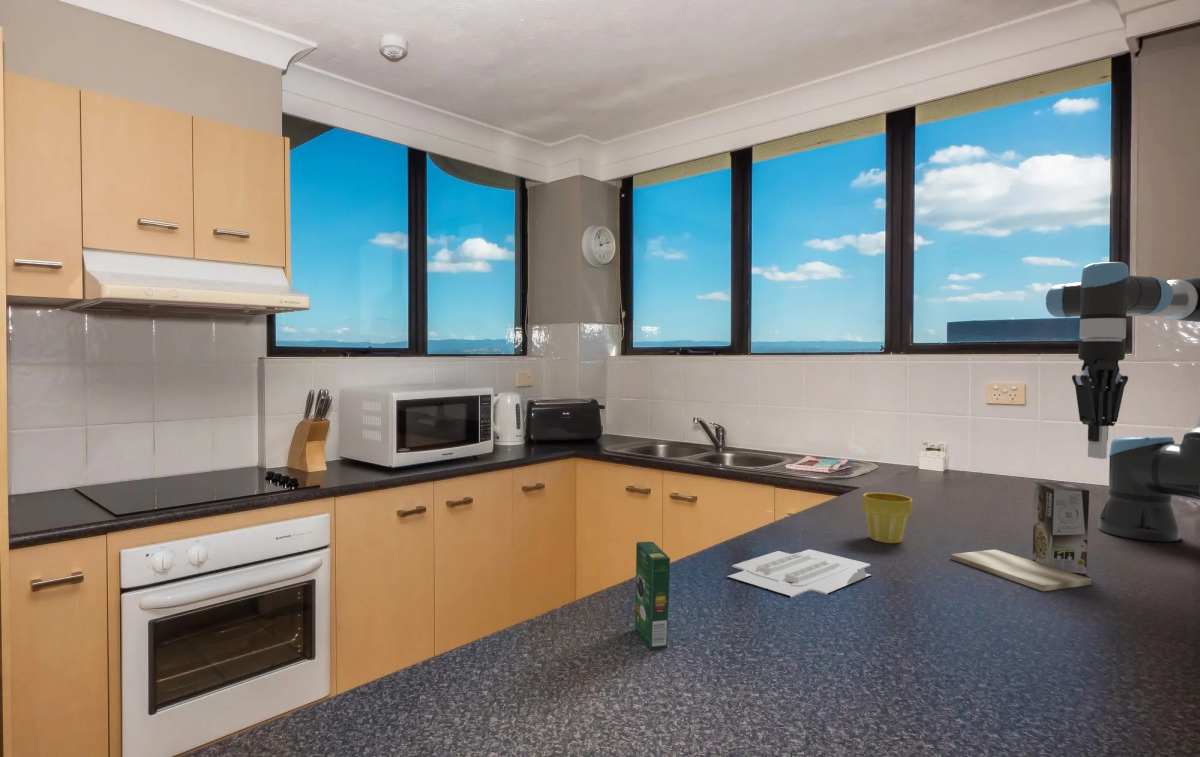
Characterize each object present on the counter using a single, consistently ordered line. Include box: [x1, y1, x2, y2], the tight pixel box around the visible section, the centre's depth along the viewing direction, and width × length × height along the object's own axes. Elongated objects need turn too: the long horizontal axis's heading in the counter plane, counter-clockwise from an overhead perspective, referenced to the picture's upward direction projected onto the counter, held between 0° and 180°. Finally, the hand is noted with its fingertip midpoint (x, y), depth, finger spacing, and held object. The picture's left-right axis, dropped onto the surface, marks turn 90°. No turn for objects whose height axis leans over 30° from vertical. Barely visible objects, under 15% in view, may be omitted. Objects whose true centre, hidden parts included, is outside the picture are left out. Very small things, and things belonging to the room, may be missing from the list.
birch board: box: [950, 549, 1093, 592], centre depth 131 cm, size 12×20×1 cm, turn 19°
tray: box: [726, 549, 873, 599], centre depth 129 cm, size 20×28×4 cm
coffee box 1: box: [634, 541, 671, 651], centre depth 97 cm, size 8×3×13 cm, turn 13°
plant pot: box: [861, 492, 914, 544], centre depth 153 cm, size 10×10×10 cm
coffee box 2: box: [1032, 481, 1091, 575], centre depth 134 cm, size 9×6×16 cm
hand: (1097, 457), depth 137 cm, fingers closed
